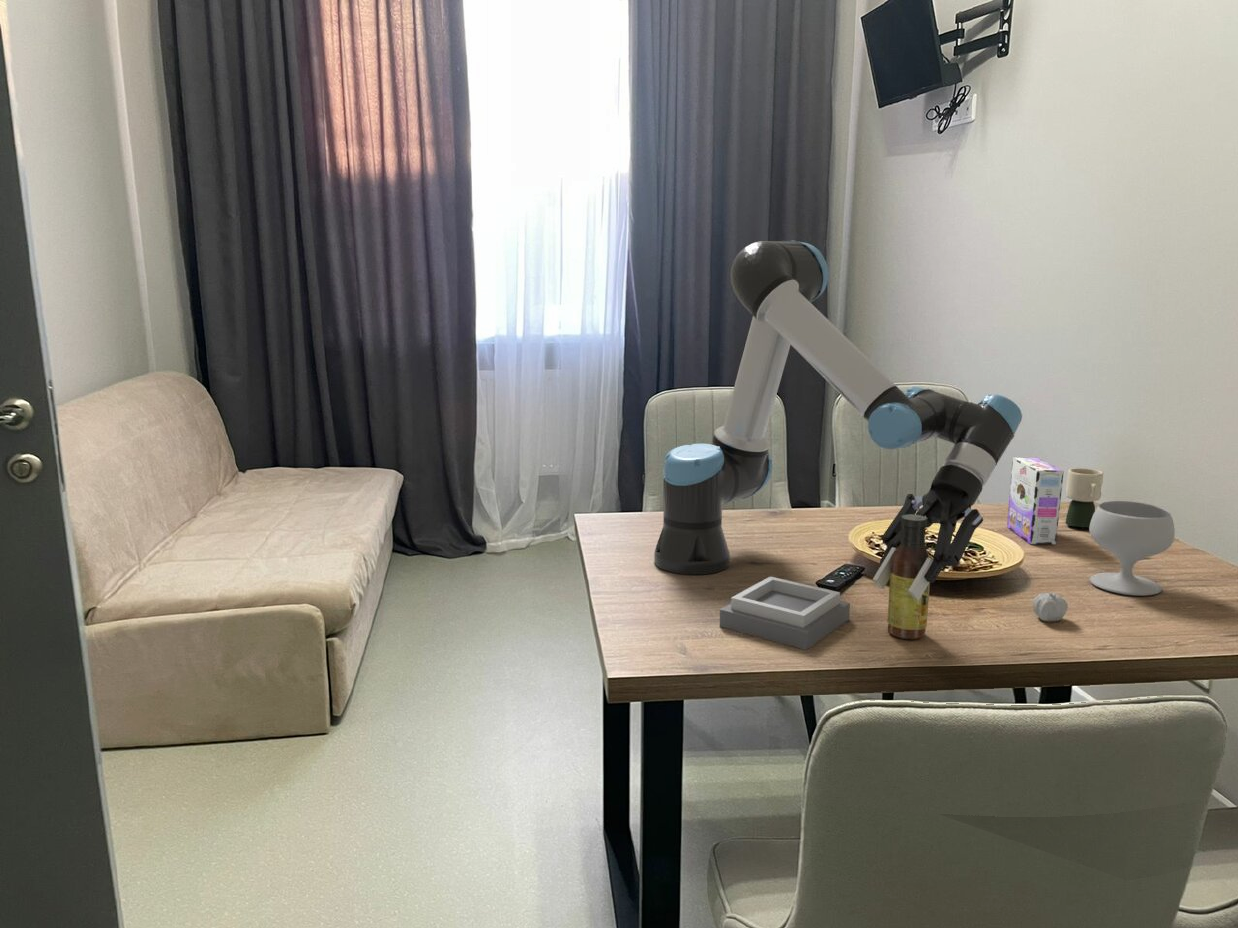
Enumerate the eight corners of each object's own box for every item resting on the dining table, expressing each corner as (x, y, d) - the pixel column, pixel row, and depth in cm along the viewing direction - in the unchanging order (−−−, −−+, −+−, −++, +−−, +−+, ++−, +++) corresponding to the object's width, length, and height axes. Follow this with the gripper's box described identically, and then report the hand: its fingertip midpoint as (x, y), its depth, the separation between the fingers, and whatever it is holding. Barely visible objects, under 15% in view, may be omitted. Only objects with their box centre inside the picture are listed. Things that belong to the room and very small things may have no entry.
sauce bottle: (927, 642, 155) (937, 524, 151) (887, 639, 156) (896, 522, 152) (923, 627, 162) (933, 513, 157) (885, 624, 163) (893, 510, 158)
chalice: (1085, 569, 190) (1093, 496, 187) (1166, 580, 184) (1176, 504, 181) (1081, 591, 178) (1090, 513, 175) (1168, 604, 172) (1179, 523, 169)
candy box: (1057, 545, 206) (1065, 470, 202) (1029, 545, 206) (1036, 470, 202) (1031, 527, 219) (1038, 456, 216) (1005, 527, 219) (1011, 456, 216)
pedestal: (719, 626, 162) (720, 598, 161) (766, 599, 174) (767, 572, 173) (806, 649, 153) (807, 620, 151) (849, 619, 165) (850, 591, 164)
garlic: (1064, 628, 161) (1067, 598, 160) (1029, 622, 164) (1032, 593, 163) (1067, 616, 166) (1070, 587, 165) (1033, 610, 169) (1036, 582, 168)
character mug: (1106, 534, 214) (1113, 477, 211) (1074, 533, 214) (1080, 476, 211) (1085, 520, 224) (1091, 465, 222) (1054, 520, 225) (1059, 465, 222)
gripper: (1023, 501, 156) (956, 619, 150) (922, 479, 171) (857, 585, 165) (1007, 473, 152) (938, 594, 145) (905, 453, 166) (838, 562, 160)
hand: (895, 589), depth 155 cm, fingers closed on sauce bottle, 6 cm apart
